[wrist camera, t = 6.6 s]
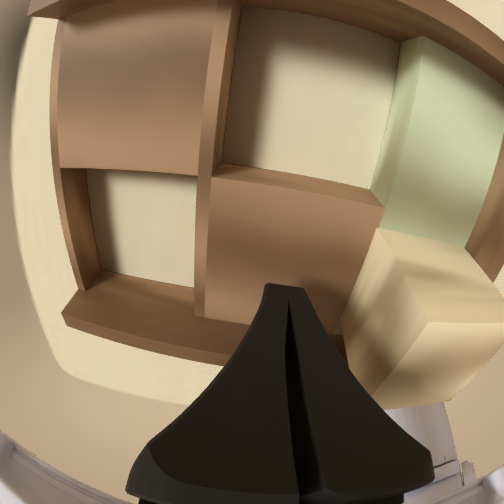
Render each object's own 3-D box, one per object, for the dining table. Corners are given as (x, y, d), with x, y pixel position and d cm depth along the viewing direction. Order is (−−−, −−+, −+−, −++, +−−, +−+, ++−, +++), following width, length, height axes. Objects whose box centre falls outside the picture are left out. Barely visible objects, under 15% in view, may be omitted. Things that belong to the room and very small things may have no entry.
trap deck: (406, 326, 15) (424, 375, 12) (97, 281, 15) (66, 325, 12) (498, 79, 7) (553, 90, 3) (87, 6, 7) (32, -6, 3)
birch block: (420, 324, 13) (449, 400, 8) (339, 319, 13) (355, 412, 8) (463, 247, 10) (519, 322, 6) (376, 228, 10) (428, 322, 6)
